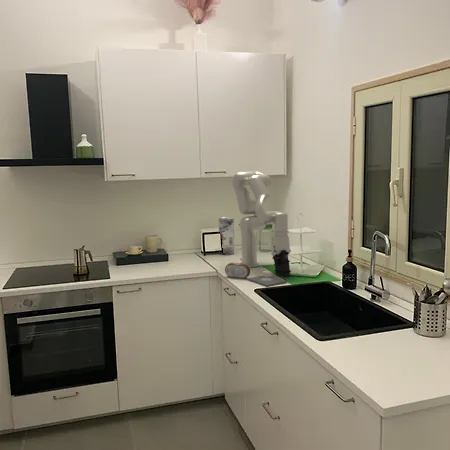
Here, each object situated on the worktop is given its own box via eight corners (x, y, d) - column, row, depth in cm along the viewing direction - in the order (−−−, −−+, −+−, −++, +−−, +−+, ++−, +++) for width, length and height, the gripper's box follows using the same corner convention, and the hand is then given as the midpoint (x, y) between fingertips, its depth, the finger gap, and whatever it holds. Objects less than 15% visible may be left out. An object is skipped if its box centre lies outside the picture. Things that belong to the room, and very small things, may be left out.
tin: (250, 278, 273) (250, 263, 272) (248, 279, 271) (248, 264, 269) (226, 275, 280) (226, 261, 278) (224, 277, 277) (224, 263, 276)
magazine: (288, 275, 270) (281, 250, 273) (276, 281, 281) (270, 256, 284) (294, 274, 272) (287, 249, 275) (281, 280, 283) (275, 256, 286)
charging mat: (247, 280, 269) (247, 274, 268) (267, 276, 276) (267, 270, 276) (266, 286, 254) (266, 280, 253) (286, 282, 261) (286, 276, 261)
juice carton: (228, 251, 351) (227, 215, 347) (236, 254, 342) (235, 216, 338) (217, 253, 346) (217, 216, 342) (225, 255, 337) (224, 217, 333)
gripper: (288, 231, 283) (288, 261, 286) (265, 234, 275) (266, 265, 277) (296, 233, 277) (296, 263, 280) (273, 236, 268) (274, 267, 271)
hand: (281, 264), depth 278 cm, fingers closed on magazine, 4 cm apart
